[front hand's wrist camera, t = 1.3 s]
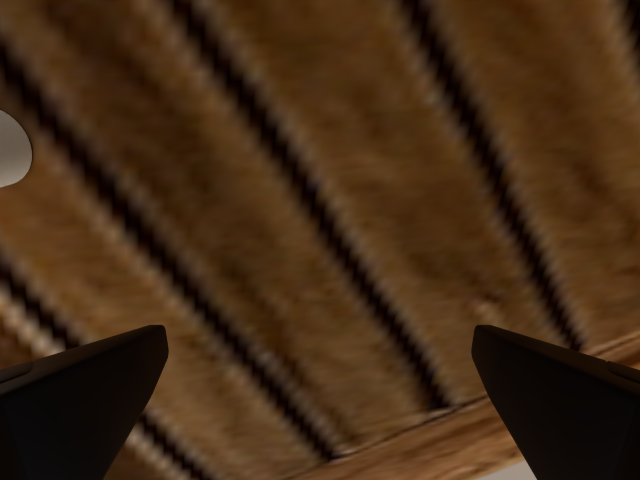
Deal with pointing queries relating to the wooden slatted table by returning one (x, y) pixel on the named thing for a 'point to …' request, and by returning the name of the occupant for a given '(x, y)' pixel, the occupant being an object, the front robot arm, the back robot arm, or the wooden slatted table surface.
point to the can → (13, 151)
